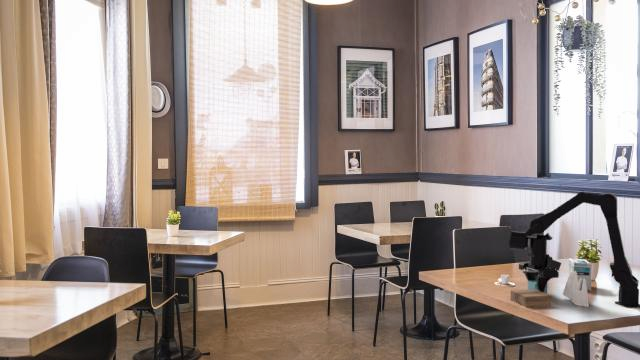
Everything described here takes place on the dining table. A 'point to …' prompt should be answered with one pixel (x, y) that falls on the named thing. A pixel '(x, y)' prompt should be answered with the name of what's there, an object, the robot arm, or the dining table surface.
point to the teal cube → (535, 286)
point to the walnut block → (531, 298)
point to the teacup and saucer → (504, 280)
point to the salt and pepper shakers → (576, 290)
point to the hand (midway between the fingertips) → (537, 292)
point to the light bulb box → (581, 270)
